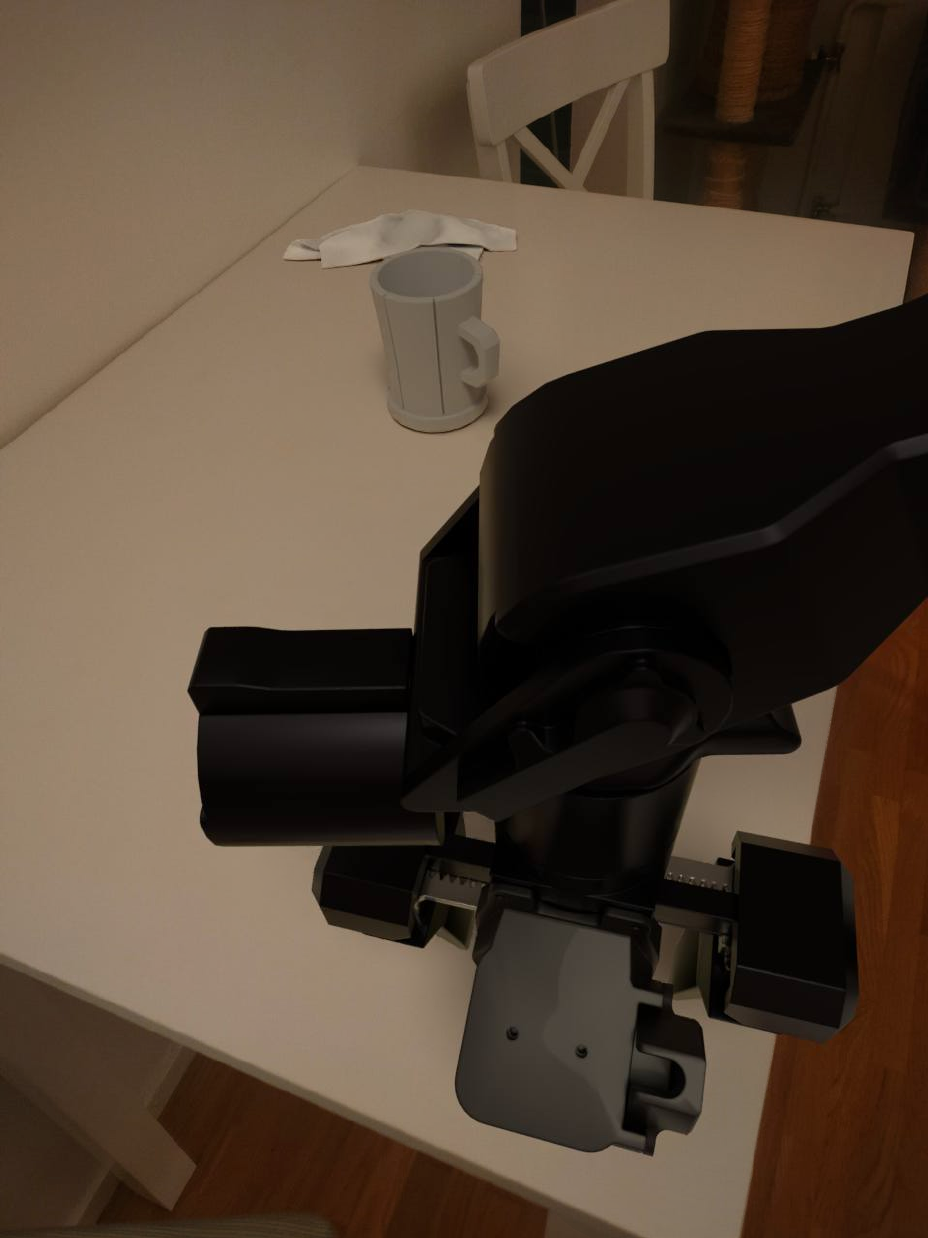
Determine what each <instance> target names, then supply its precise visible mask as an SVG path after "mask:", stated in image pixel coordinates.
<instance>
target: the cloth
mask: <svg viewBox="0 0 928 1238" xmlns="http://www.w3.org/2000/svg"><path fill="white" fill-rule="evenodd" d="M516 235H517V232H516V229H513V228H509V227H506V226H503V225H500V224H495V223H492V224H491V223H486V222H483V221H480V220H478V219H475V218H462V217H458V216H456V215H452V214H449V213H447V214H446V213H445V214H442V213H441V214H439V213H435V212H430V211H426V210H421V209H412V208H408V209H406V210H405V211H403V212H401V213H400V212H399V213H398V212H397V213H396V212H390V213H386V214H381V215H377V216H376V217H374V219H372V220H368V221H365V222H362V223H361V222H360V223H353V224H352V225H348V226H345V227H343V228H339V229H336V230H334V231H331V232H329V233H326V234H325V235H323V236H321V237H318V238H302V239H301V238H300V239H294V240H293V241H292V242H290V243H289V244H288V245H287V247H286V250H285V251H284V253H283V255H282V258H283V260H287V261H288V260H289V261H307V260H321V261H320V263H321V269H322V270H324V269H325V270H326V269H332V268H333V269H334V268H342V267H351V266H357V265H361V264H366V263H370V262H373V261H378V260H385V259H386V258H389V257H390V256H392V255H395V254H397V253H400V252H403V251H407V250H412V249H417V248H418V249H419V251H420V248H429V247H440V248H451V249H455V250H459V251H462V252H465V253H468V254H469V255H471V256H473V257H475V258H476V259H477V260H478V261H479V260H480V258H481V255H482V254H483V252H484V250H485V249H486V250H488V251H490V252H492V253H493V252H515V251H517V250H518V244H517V239H516V237H517V236H516Z"/></svg>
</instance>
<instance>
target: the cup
mask: <svg viewBox="0 0 928 1238" xmlns="http://www.w3.org/2000/svg"><path fill="white" fill-rule="evenodd" d="M368 283H369V287H370V292H371V296H372V300H373V305H374V309H375V314H376V318H377V322H378V327H379V331H380V336H381V341H382V345H383V346H382V347H383V351H384V356H385V362H386V363H385V364H386V368H387V372H388V373H387V375H388V379H389V386H388V387H387V391H386V393H387V394H386V400H387V408H388V410H389V413H390V414H391V418H393V419H394V420H395V421H396V422H398V423H399V424H401V425H402V426H405V427H407V428H409V429H412V430H414V431H417V432H425V433H431V434H432V433H446V432H451V431H454V430H458V429H461V428H463V427H465V426H467V425H469V424H471V423H473V422H474V421H475V420H476V419H478V418H479V417H480V416H481V415H482V414H483V413H484V411H485V410H486V407H487V406H488V404H489V403H488V402H489V400H488V399H489V398H488V383H490V382H491V381H493V380H494V379H495V378H496V377H498V376H499V374H500V373H499V371H500V351H501V339H500V337H499V335H498V333H497V332H496V329H494V328H493V327H491V326H490V325H489V324H487V323H486V322H484V321H482V308H483V306H482V305H483V286H484V285H483V284H484V267H483V265H482V264H481V263H480V261H479V260H477V259H476V258H475V257H473V256H471V255H469V254H468V253H465V252H462V251H459V250H455V249H451V248H440V247H429V248H420V251H419V249H418V248H417V249H412V250H407V251H403V252H400V253H397V254H395V255H392V256H390V257H389V258H386V259H382V261H380V262H378V263H377V264H376V265H375V266H374V268H373V269H372V271H371V272H370V274H369V281H368Z"/></svg>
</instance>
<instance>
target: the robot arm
mask: <svg viewBox="0 0 928 1238" xmlns="http://www.w3.org/2000/svg"><path fill="white" fill-rule="evenodd" d="M415 596H416V597H415V609H414V610H415V611H414V623H413V628H412V627H389V628H388V627H387V628H383V627H382V628H344V629H343V628H342V629H334V628H333V629H293V630H292V629H279V628H270V627H262V626H252V625H251V626H250V625H249V626H247V625H242V626H240V625H238V626H237V625H236V626H210V627H208V628H207V629H206V630H205V631H204V632H203V636H202V639H201V642H200V645H199V649H198V652H197V656H196V659H195V663H194V666H193V669H192V672H191V677H190V679H189V682H188V686H187V690H186V692H187V695H188V696H189V698H190V700H191V702H192V703H193V706H194V707H195V710H196V711H197V713H198V719H197V720H198V722H197V739H196V764H197V765H196V768H197V782H198V789H199V795H200V802H201V809H200V813H199V824H200V828H201V830H202V832H203V834H204V835H205V838H206V839H207V840H208V841H209V842H210V843H212V844H213V846H215V847H217V846H218V847H222V848H223V847H224V848H245V847H246V848H251V847H253V848H257V847H259V848H260V847H261V848H263V847H264V848H265V847H266V848H267V847H268V848H269V847H273V848H274V847H321V850H320V852H319V855H318V858H317V860H316V863H315V865H314V868H313V874H312V884H311V893H312V895H313V897H314V898H315V901H316V903H317V905H318V907H319V909H320V911H321V913H322V915H323V916H324V919H325V921H326V923H327V925H328V926H332V927H336V928H340V929H345V930H349V931H352V932H356V933H361V934H362V935H365V936H367V937H372V938H376V939H382V940H385V941H388V942H393V943H397V944H401V945H406V946H409V947H414V948H417V949H425V948H426V946H427V945H428V944H429V943H430V941H432V939H433V938H434V936H435V935H436V936H437V937H438V938H440V939H442V940H444V941H446V942H447V943H449V944H451V945H452V946H454V947H456V948H457V949H459V950H463V951H469V948H470V945H471V941H472V937H473V933H474V926H475V929H476V935H475V939H474V944H473V948H472V951H471V959H472V962H473V964H474V965H475V966H476V969H475V973H474V977H473V982H472V987H471V992H470V997H469V1003H468V1006H467V1007H468V1008H467V1013H466V1017H465V1025H464V1028H463V1033H462V1037H461V1038H462V1039H461V1044H460V1048H459V1054H458V1059H457V1065H456V1070H455V1076H454V1091H455V1095H456V1099H457V1102H458V1104H459V1106H460V1107H461V1109H462V1111H463V1112H464V1113H465V1114H466V1115H467V1116H468V1117H469V1118H471V1119H472V1120H474V1121H475V1122H477V1123H480V1124H483V1125H486V1126H489V1127H493V1128H495V1129H500V1130H503V1131H506V1132H511V1133H514V1134H518V1135H522V1136H525V1137H528V1138H533V1139H536V1140H540V1141H543V1142H547V1143H550V1144H553V1145H557V1146H560V1147H564V1148H567V1149H571V1150H575V1151H578V1152H582V1153H589V1154H593V1153H600V1152H602V1151H605V1150H607V1149H608V1148H610V1147H615V1148H619V1149H623V1150H627V1151H630V1152H634V1153H637V1154H642V1155H644V1156H648V1157H651V1158H653V1157H654V1154H655V1150H656V1142H657V1137H658V1135H659V1134H660V1133H661V1132H664V1131H669V1132H672V1133H677V1134H680V1135H685V1136H688V1135H689V1134H691V1133H692V1132H693V1130H694V1128H695V1127H696V1125H697V1122H698V1120H699V1118H700V1117H701V1114H702V1112H703V1103H704V1094H705V1093H704V1092H705V1083H706V1073H707V1057H706V1046H705V1039H704V1030H703V1027H702V1025H701V1024H700V1023H699V1021H698V1020H697V1019H695V1018H692V1017H688V1016H683V1015H680V1014H676V1013H675V1011H674V1009H673V1008H674V1007H673V1001H678V1002H679V1001H689V1000H690V1001H691V1000H700V999H701V1000H702V1003H703V1006H704V1009H705V1012H706V1016H707V1017H708V1019H712V1020H716V1021H720V1022H725V1023H729V1024H732V1025H736V1026H740V1027H745V1028H749V1029H753V1030H757V1031H762V1032H766V1033H770V1034H774V1035H785V1036H788V1037H793V1038H796V1039H800V1040H805V1041H809V1042H812V1043H813V1042H814V1043H818V1044H821V1045H824V1044H825V1043H827V1042H828V1041H829V1040H830V1039H832V1038H833V1037H835V1036H836V1035H837V1034H838V1033H840V1031H842V1030H843V1029H844V1028H845V1027H846V1026H847V1025H848V1024H849V1023H850V1022H851V1021H853V1020H854V1018H855V1017H856V1012H857V1008H858V1003H859V997H860V979H859V964H858V963H859V961H858V960H859V958H858V940H857V927H856V926H857V925H856V923H857V922H856V903H855V887H854V886H855V885H854V876H853V875H852V874H851V872H850V871H849V869H848V868H847V867H846V865H845V864H844V863H843V861H842V860H841V859H840V857H839V856H838V854H837V853H836V852H835V850H834V849H833V848H829V847H824V846H818V845H814V844H807V843H804V842H803V843H802V842H798V841H792V840H788V839H783V838H777V837H773V836H772V837H771V836H767V835H762V834H756V833H752V832H746V831H741V830H736V831H735V835H734V837H733V839H732V841H731V846H730V847H731V849H730V858H724V857H717V858H716V860H715V863H710V862H704V861H699V860H694V859H689V858H684V857H680V856H675V855H673V851H674V848H675V844H676V841H677V838H678V835H679V832H680V829H681V825H682V822H683V819H684V815H685V812H686V809H687V805H688V802H689V800H690V796H691V793H692V790H693V786H694V783H695V780H696V777H697V774H698V770H699V766H700V764H701V761H702V758H706V757H712V756H757V755H758V756H761V755H762V756H765V755H767V756H769V755H773V756H774V755H789V754H792V753H794V752H796V751H798V750H799V749H800V747H801V746H802V741H803V738H802V734H801V731H800V728H799V724H798V721H797V718H796V714H795V711H794V708H793V704H795V703H798V702H800V701H803V700H805V699H808V698H811V697H813V696H817V695H819V694H821V693H824V692H826V691H829V690H831V689H833V688H835V687H838V686H840V685H841V684H842V683H844V682H845V681H846V680H847V679H848V678H850V676H851V675H852V674H853V673H854V672H855V671H857V669H858V668H860V667H861V666H862V664H863V663H864V662H865V661H866V660H867V659H868V658H869V657H870V656H871V655H873V653H874V652H875V651H876V650H877V649H878V648H879V647H880V646H881V645H883V643H884V642H885V641H886V640H887V639H888V638H889V637H890V636H891V635H892V634H893V633H894V632H895V631H896V630H897V629H898V628H899V627H900V626H901V625H902V624H903V623H904V622H905V620H907V619H908V618H909V616H911V615H912V613H913V612H914V611H915V610H916V609H918V608H919V606H920V605H921V604H922V603H923V602H925V600H926V599H927V598H928V292H927V293H924V294H923V295H920V296H918V297H915V298H914V299H912V300H909V301H906V302H904V303H901V304H899V305H897V306H893V307H890V308H886V309H884V310H880V311H877V312H874V313H870V314H866V315H864V316H860V317H857V318H854V319H850V320H848V321H844V322H841V323H838V324H834V325H829V326H823V327H798V328H797V327H796V328H793V327H792V328H753V329H752V328H751V329H749V328H747V329H742V328H741V329H711V330H703V331H698V332H695V333H692V334H689V335H686V336H683V337H681V338H677V339H674V340H673V339H672V340H671V341H668V342H664V343H661V344H658V345H654V346H652V347H649V348H646V349H643V350H639V351H636V352H633V353H629V354H627V355H624V356H623V355H622V356H620V357H616V358H614V359H611V360H607V361H605V362H602V363H599V364H595V365H592V366H589V367H585V368H583V369H580V370H579V369H578V370H576V371H574V372H570V373H568V374H564V375H562V376H560V377H557V378H555V379H552V380H550V381H548V382H545V383H544V384H542V385H540V386H539V387H537V388H536V389H535V390H533V391H532V392H530V393H529V394H527V395H526V396H524V397H522V398H521V399H520V400H518V401H517V402H516V403H514V404H513V405H512V406H511V407H510V408H509V409H508V410H507V411H506V412H505V413H504V414H503V416H502V417H501V418H499V420H498V421H497V422H496V423H495V425H494V428H493V437H492V438H491V440H490V441H489V444H488V447H487V450H486V453H485V456H484V459H483V462H482V465H481V468H480V470H479V484H478V485H477V486H476V488H474V490H473V491H472V492H471V493H470V494H469V495H468V496H467V498H466V499H465V500H464V501H463V502H462V503H461V504H460V505H459V507H458V508H457V509H456V510H455V511H454V512H453V513H452V514H451V516H450V517H449V518H448V519H447V520H446V521H445V522H444V523H443V524H442V526H441V527H440V528H439V529H438V530H437V531H436V533H435V534H433V536H432V537H431V538H430V539H429V540H428V542H427V543H426V544H425V545H424V546H423V547H422V548H421V550H420V551H419V558H418V571H417V583H416V595H415ZM467 812H468V813H476V814H479V815H480V816H482V817H485V818H487V819H489V820H491V821H493V827H494V841H489V840H483V839H479V838H475V837H469V836H467V831H466V823H465V816H464V813H467ZM669 878H670V879H669ZM473 883H475V884H474V885H473ZM482 885H483V886H482ZM702 885H703V886H702ZM474 923H475V924H474ZM662 925H664V926H665V925H666V926H670V927H675V928H680V929H683V932H682V935H681V937H680V939H679V941H678V943H677V945H676V948H675V950H674V953H673V956H672V957H673V958H672V961H671V965H670V970H669V974H668V982H665V981H663V982H662V981H661V980H657V979H653V978H654V975H655V973H656V970H657V967H658V964H659V962H660V958H661V957H660V956H661V946H662V935H663V926H662Z"/></svg>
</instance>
